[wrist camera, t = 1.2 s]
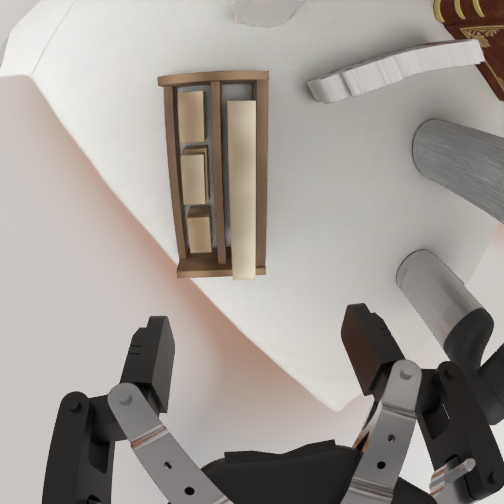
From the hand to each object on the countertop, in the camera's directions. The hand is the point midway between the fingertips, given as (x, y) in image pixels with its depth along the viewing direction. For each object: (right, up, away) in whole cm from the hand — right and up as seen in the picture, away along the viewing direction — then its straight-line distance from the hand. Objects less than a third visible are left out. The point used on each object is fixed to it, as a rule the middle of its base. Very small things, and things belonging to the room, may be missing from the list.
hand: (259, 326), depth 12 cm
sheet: (-2, +14, +24) cm, 28 cm away
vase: (+29, +20, +24) cm, 42 cm away
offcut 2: (-7, +7, +27) cm, 29 cm away
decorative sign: (+17, +29, +18) cm, 38 cm away
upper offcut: (-7, +12, +21) cm, 26 cm away
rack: (-5, +14, +24) cm, 28 cm away
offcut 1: (-7, +20, +20) cm, 30 cm away
